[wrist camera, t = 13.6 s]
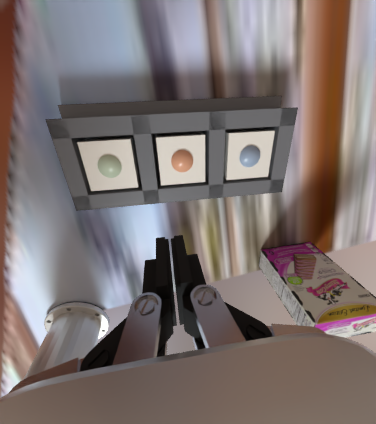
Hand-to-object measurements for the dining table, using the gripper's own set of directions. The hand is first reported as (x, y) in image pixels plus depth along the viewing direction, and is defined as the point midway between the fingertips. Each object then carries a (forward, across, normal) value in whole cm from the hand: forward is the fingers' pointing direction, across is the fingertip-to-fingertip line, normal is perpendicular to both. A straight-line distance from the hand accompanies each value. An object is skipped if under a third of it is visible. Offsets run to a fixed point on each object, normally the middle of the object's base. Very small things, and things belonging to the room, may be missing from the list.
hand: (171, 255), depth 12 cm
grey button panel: (+20, -3, -3) cm, 20 cm away
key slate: (+18, -12, -3) cm, 22 cm away
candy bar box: (+20, -24, +19) cm, 37 cm away
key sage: (+18, +6, -3) cm, 19 cm away
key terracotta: (+18, -3, -3) cm, 18 cm away
